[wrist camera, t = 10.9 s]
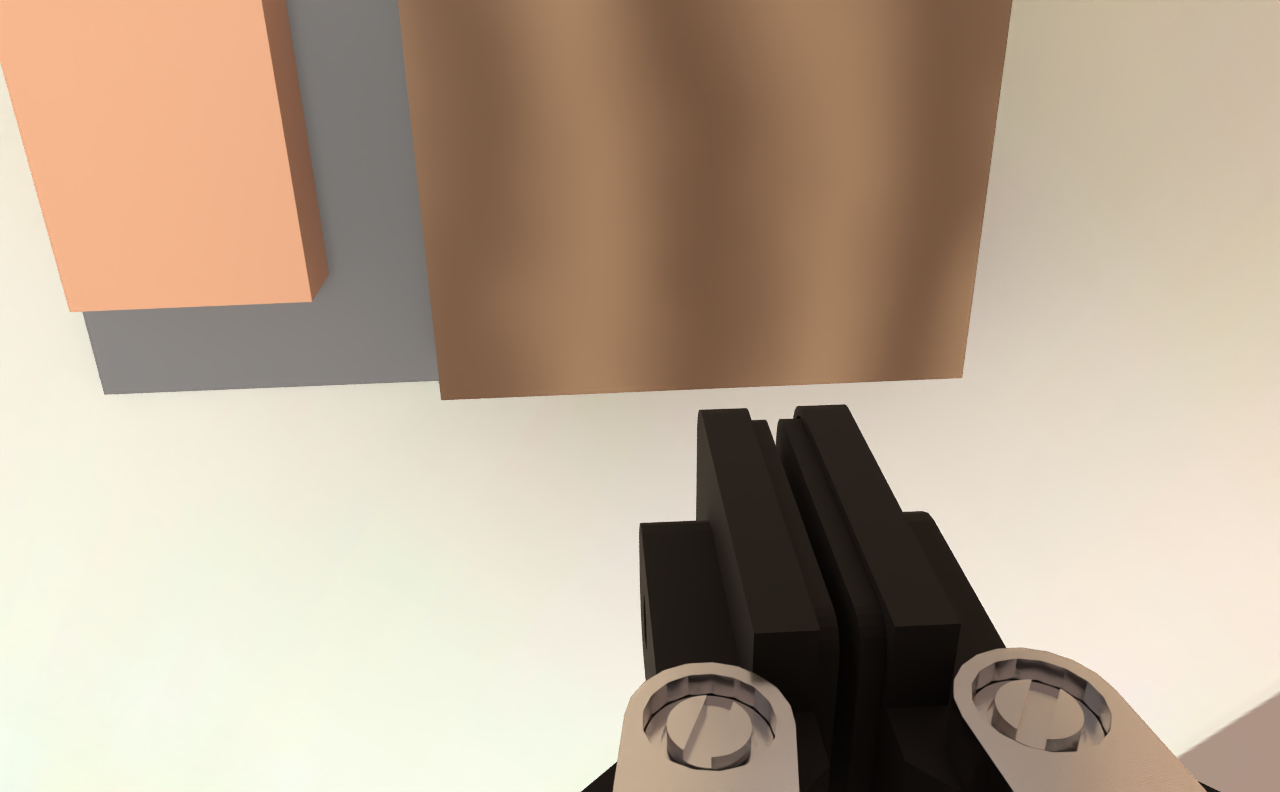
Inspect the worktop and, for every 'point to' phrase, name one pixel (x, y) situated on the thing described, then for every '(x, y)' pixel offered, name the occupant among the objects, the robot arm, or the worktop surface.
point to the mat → (352, 232)
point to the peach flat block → (166, 150)
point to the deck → (700, 189)
